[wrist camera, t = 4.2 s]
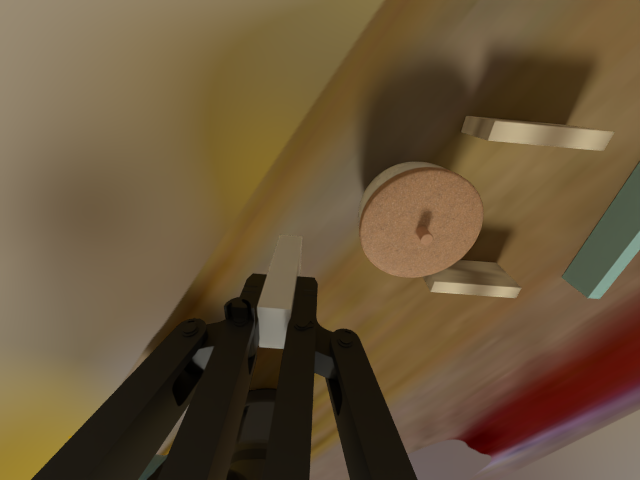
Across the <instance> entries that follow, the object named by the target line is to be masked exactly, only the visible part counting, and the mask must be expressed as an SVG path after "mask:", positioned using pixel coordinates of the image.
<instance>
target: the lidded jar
mask: <svg viewBox="0 0 640 480" xmlns="http://www.w3.org/2000/svg"><path fill="white" fill-rule="evenodd" d="M482 222H483V205H482V201H481V198H480V196H479V194H478V192H477V190H476V189H475V187H474V186H473V185H472V184H471V183H470V182H469V181H468V180H466V179H465V178H463V177H462V176H460V175H459V174H457V173H455V172H452V171H450V170H447V169H445V168H443V167H441V166H438V165H435V164H431V163H427V162H405V163H401V164H397V165H394V166H392V167H390V168H388V169H386V170H384V171H383V172H381V173H380V174H379V175H378V176H376V177H375V178H374V179H373V180H372V182H371V183H370V184H369V185H368V187H367V188H366V190H365V192H364V194H363V196H362V199H361V202H360V205H359V212H358V226H359V236H360V241H361V245H362V248H363V250H364V252H365V254H366V256H367V257H368V259H369V260H370V261H371V262H372V263H373V264H374V265H375V266H376V267H378V268H379V269H381V270H383V271H385V272H387V273H389V274H392V275H395V276H401V277H422V276H427V275H431V274H434V273H437V272H440V271H442V270H444V269H446V268H448V267H450V266H451V265H453V264H454V263H456V262H457V261H458V260H460V259H461V258H462V257H463V256H464V255H465V254H466V253H467V252H468V251H469V250H470V248H471V247H472V246H473V245H474V243H475V241H476V239H477V237H478V235H479V233H480V230H481V227H482Z"/></svg>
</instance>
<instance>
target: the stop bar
mask: <svg viewBox="0 0 640 480" xmlns="http://www.w3.org/2000/svg"><path fill="white" fill-rule="evenodd" d="M639 250H640V162H639V163H638V165H637V166H636V168H635V169H634V171H633V172H632V174H631V175H630V177H629V178H628V180H627V181H626V183H625V184H624V186H623V187H622V189H621V190H620V192H619V193H618V195H617V196H616V198H615V199H614V200H613V202H612V203H611V205H610V206H609V208H608V209H607V211H606V212H605V214H604V215H603V217H602V218H601V220H600V221H599V223H598V224H597V226H596V227H595V229H594V230H593V232H592V233H591V235H590V236H589V237H588V239H587V240H586V242H585V243H584V245H583V246H582V248H581V249H580V251H579V252H578V254H577V255H576V257H575V258H574V260H573V261H572V263H571V264H570V266H569V267H568V269H567V270H566V272H565V273H564V274H563V276H562V278H563V279H564V280H566V281H567V282H568V283H569V284H571V285H572V286H573V287H574V288H576V289H577V290H578V291H580V292H581V293H582V294H583V295H585V296H586V297H587V298H595V299H600V298H601V297H602V295H603V294H604V293H605V292H606V291H607V289H608V288H609V287H610V286H611V284H612V283H613V282H614V281H615V279H616V278H617V277H618V276H619V274H620V273H621V272H622V271H623V269H624V268H625V267H626V266H627V264H628V263H629V262H630V261H631V260H632V258H633V257H634V256H635V255H636V253H637V252H638V251H639Z"/></svg>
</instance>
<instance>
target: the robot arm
mask: <svg viewBox="0 0 640 480" xmlns="http://www.w3.org/2000/svg"><path fill="white" fill-rule="evenodd" d="M301 254H302V236H291V235H279V239H278V242H277V245H276V248H275V251H274V254H273V258H272V261H271V264H270V267H269V270H268V274H267V275H266V274H252V275H251V276H250V277H249V278H248V279H247V280H246V283H245V285H244V288H243V290H242V293H241V295H240V297H237V298H234V299H231V300H230V301H228V302H227V303H226V304H225V305H224V310H225V317H226V320H223V321H221V322H218V323H213V324H207V325H206V323H205V322H204V321H203V320H201V319H195V318H194V319H188V320H186V321H184V322H182V323H180V324H179V325H178V326H177V327H176V328H175V329H174V330H173V331H172V332H171V333H170V334H169V335H168V336H167V337H166V338H165V339H164V340H163V341H162V343H161V344H160V345H159V346H158V347H157V348H156V349H155V350H154V351H153V352H152V353H151V354H150V355H149V356H148V357H147V358H146V359H145V360H144V361H143V362H142V364H141V365H140V366H139V367H138V368H137V369H136V370H135V371H134V372H133V373H132V374H131V375H130V376H129V377H128V378H127V379H126V380H125V381H124V382H123V384H122V385H121V386H120V387H119V388H118V389H117V390H116V391H115V392H114V393H113V394H112V395H111V396H110V397H109V398H108V399H107V400H106V401H105V402H104V403H103V405H102V406H101V407H100V408H99V409H98V410H97V411H96V412H95V413H94V414H93V415H92V416H91V417H90V418H89V419H88V420H87V421H86V423H84V425H83V426H82V427H81V428H80V429H79V430H78V431H77V432H76V433H75V434H74V435H73V436H72V437H71V438H70V439H69V440H68V441H67V442H66V443H65V444H64V446H63V447H62V448H61V449H60V450H59V451H58V452H57V453H56V454H55V455H54V456H53V457H52V458H51V459H50V460H49V461H48V463H47V464H45V466H44V467H43V468H42V469H41V470H40V471H39V472H38V473H37V474H36V475H35V476H34V477H33V478H32V479H31V480H309V475H310V453H311V431H312V409H313V387H314V373H316V374H319V375H321V376H323V377H325V379H326V383H327V387H328V391H329V395H330V399H331V403H332V407H333V412H334V416H335V420H336V424H337V428H338V432H339V436H340V440H341V444H342V448H343V453H344V457H345V461H346V465H347V469H348V473H349V477H350V480H417V477H416V475H415V472H414V470H413V468H412V465H411V463H410V460H409V458H408V455H407V453H406V450H405V448H404V446H403V443H402V441H401V438H400V436H399V433H398V431H397V429H396V426H395V424H394V421H393V419H392V416H391V414H390V412H389V409H388V407H387V404H386V402H385V399H384V397H383V395H382V392H381V390H380V387H379V385H378V382H377V380H376V378H375V375H374V373H373V370H372V368H371V365H370V363H369V361H368V358H367V356H366V353H365V351H364V348H363V346H362V344H361V341H360V339H359V337H358V336H357V334H356V333H354V332H353V331H351V330H349V329H338V330H336V331H335V332H331V331H328V330H326V329H324V328H323V327H321V326H320V325H319V323H318V322H317V319H316V310H317V287H318V284H317V282H316V280H315V278H312V277H300V271H301ZM258 343H259V347H264V348H278V349H284V350H283V356H282V362H281V368H280V374H279V380H278V386H277V390H273V389H261V390H254V391H250V392H248V391H249V387H250V383H251V379H252V375H253V371H254V367H255V363H256V359H257V347H258ZM188 405H189V407H188ZM187 407H188V409H187V411H186V414H185V416H184V418H183V421H182V423H181V425H180V428H179V430H178V432H177V435H176V437H175V439H174V442H173V444H172V447H171V449H170V451H169V454H167V455H165V456H163V455H157V454H156V453H157V451H158V450H159V448H160V447H161V445H162V444H163V442H164V441H165V439H166V438H167V436H168V435H169V433H170V432H171V430H172V429H173V427H174V426H175V424H176V423H177V421H178V420H179V418H180V417H181V416H182V414H183V413H184V411H185V410H186V408H187Z"/></svg>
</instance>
